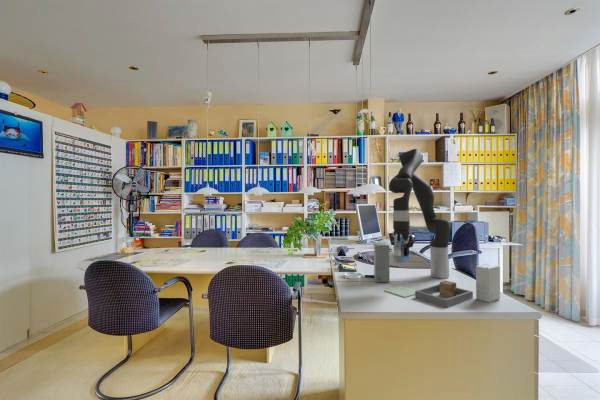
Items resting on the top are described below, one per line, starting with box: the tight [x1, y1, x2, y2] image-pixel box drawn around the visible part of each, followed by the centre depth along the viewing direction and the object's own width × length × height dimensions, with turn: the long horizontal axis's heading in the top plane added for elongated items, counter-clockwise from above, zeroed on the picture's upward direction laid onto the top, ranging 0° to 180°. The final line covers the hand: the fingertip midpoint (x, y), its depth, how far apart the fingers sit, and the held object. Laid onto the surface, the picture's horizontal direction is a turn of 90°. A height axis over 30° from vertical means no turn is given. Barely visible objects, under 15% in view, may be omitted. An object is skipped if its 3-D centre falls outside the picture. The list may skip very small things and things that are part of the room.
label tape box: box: [393, 236, 410, 264], centre depth 141 cm, size 9×4×12 cm, turn 136°
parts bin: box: [414, 283, 474, 308], centre depth 131 cm, size 20×15×3 cm
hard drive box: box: [373, 241, 390, 283], centre depth 164 cm, size 16×8×20 cm, turn 168°
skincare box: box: [475, 263, 501, 303], centre depth 129 cm, size 8×6×15 cm
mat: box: [383, 285, 417, 298], centre depth 140 cm, size 12×12×1 cm
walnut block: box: [439, 280, 457, 298], centre depth 135 cm, size 5×5×6 cm
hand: (401, 255), depth 141 cm, fingers closed on label tape box, 4 cm apart
